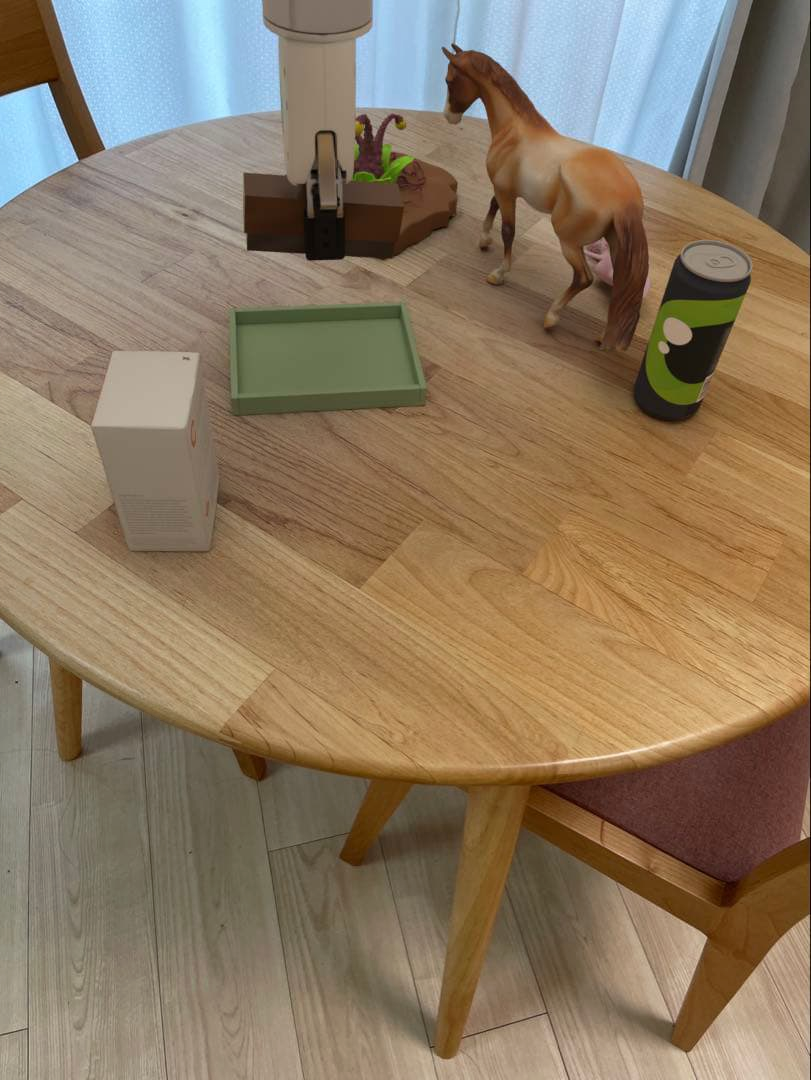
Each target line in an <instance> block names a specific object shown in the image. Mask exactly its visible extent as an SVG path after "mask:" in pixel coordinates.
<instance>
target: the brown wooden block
mask: <svg viewBox="0 0 811 1080" xmlns="http://www.w3.org/2000/svg"><path fill="white" fill-rule="evenodd" d="M242 175H243V177H242V178H243V181H242V183H243V184H242V186H243V187H242V216H243V217H242V218H243V219H242V220H243V233H244V234H245V238H246V239H245V240H246V251H248V252H262V253H264V252H265V253H280V254H299V255H300V254H301V255H306V254H305V231H304V212H307V197H306V183H305V184H297V186H294V185H292V184H291V183H290V182H289V181H288V179H287V176H285V175H286V174H285V175H284V174H283V175H282V174H270V173H259V172H243V174H242ZM315 194H319V186H314V196H315ZM343 211H345V257H354V258H371V259H380V258H386V259H385V260H387V259H388V260H392V259H393V258H394V256H393V253H394V246H395V242H399V236H400V230H401V224H402V217H403V211H404V204H403V201H402V197H401V193H400V190H399V186H398V184H391V183H378V182H365V181H350V182H349V183H348V184H346V185H345V183H344V181H343Z"/></svg>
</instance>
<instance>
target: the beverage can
mask: <svg viewBox="0 0 811 1080" xmlns="http://www.w3.org/2000/svg"><path fill="white" fill-rule="evenodd" d="M753 267H754V264H753V261H752V259H751V257H750V256H749V255H748V254H747V253H746V252H745V251H743V249H740V248H739V247H737V246H735V245H733V244H730V243H727V242H724V241H720V240H713V239H698V240H694V241H691V242H688V243H687V244H685V245H684V246H683V247H682V249H681V251H680V254H678V255H677V256H676V258H675V260H674V261H673V265H672V268H671V271H670V274H669V278H668V280H667V283H666V287H665V289H664V293H663V296H662V299H661V302H660V305H659V308H658V310H657V314H656V317H655V320H654V324H653V326H652V330H651V333H650V336H649V338H648V342H647V345H646V348H645V350H644V354H643V358H642V361H641V364H640V367H639V370H638V372H637V376H636V379H635V382H634V385H633V397H634V398H635V400H636V401H637V404H638V405H639V408H641V409H642V410H643V411H644V412H645V413H647V414H648V415H650V416H652V417H654V418H656V419H659V420H662V421H663V420H664V421H680V420H683V419H686V418H688V417H690V416H693V415H694V414H695V413H697V412H698V411H699V409H700V408H701V405H702V404H703V403H702V402H703V400H704V399H705V397H706V396H705V395H706V393H707V391H708V388H709V386H710V383H711V381H712V378H713V376H714V373H715V371H716V369H717V366H718V364H719V362H720V358H721V356H722V354H723V351H724V349H725V346H726V344H727V341H728V339H729V337H730V335H731V332H732V329H733V327H734V324H735V322H736V319H737V318H738V314H739V312H740V310H741V307H742V305H743V302H744V299H745V297H746V295H747V292H748V291H749V287H750V285H751V281H752V276H751V273H752V270H753Z"/></svg>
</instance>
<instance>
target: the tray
mask: <svg viewBox="0 0 811 1080" xmlns="http://www.w3.org/2000/svg"><path fill="white" fill-rule="evenodd" d="M408 309H409V308H408V306H407V301H389V302H388V301H386V302H361V303H337V304H333V303H332V304H311V305H307V304H305V305H284V306H283V305H282V306H281V305H280V306H257V307H255V306H254V307H231V308H228V328H229V330H228V331H229V363H230V365H229V366H230V367H229V369H230V399H231V401H230V402H231V408H232V415H233V416H247V415H268V414H269V415H270V414H283V413H285V414H286V413H287V414H288V413H305V412H323V411H341V410H359V409H360V410H361V409H376V408H377V409H378V408H380V409H381V408H395V407H398V408H399V407H413V406H415V407H416V406H426V403H427V393H428V387H427V382H426V378H425V374H424V371H423V366H422V361H421V358H420V353H419V350H418V346H417V342H416V337H415V334H414V330H413V326H412V323H411V317H410V314H409V310H408Z"/></svg>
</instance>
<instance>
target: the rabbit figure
mask: <svg viewBox="0 0 811 1080" xmlns="http://www.w3.org/2000/svg"><path fill="white" fill-rule="evenodd" d="M583 250H584V254H585V257H589V258H592V259H594V260H597V261H599V262H598V263H596V264H595V266H594V268H593V272H594V275H596V277H598V278H599V279H600V280H602V281H603V282H604V283H606V284H607V285H610V286H612V287H613V268H612V263H611V257H610V250H609V245H608V243H607V241H606V240H605V239H604V237H603V238H601V239H600V240H599V241H597V242H595V243H592V244H589V245H586V249H584V248H583ZM651 285H652V281H651V276H650V275H649V274H648V276H647V279H646V284H645V287H644V292H643V299H642V300H644V299H645V298H647V296H648V295H649V292H650V288H651Z"/></svg>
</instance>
